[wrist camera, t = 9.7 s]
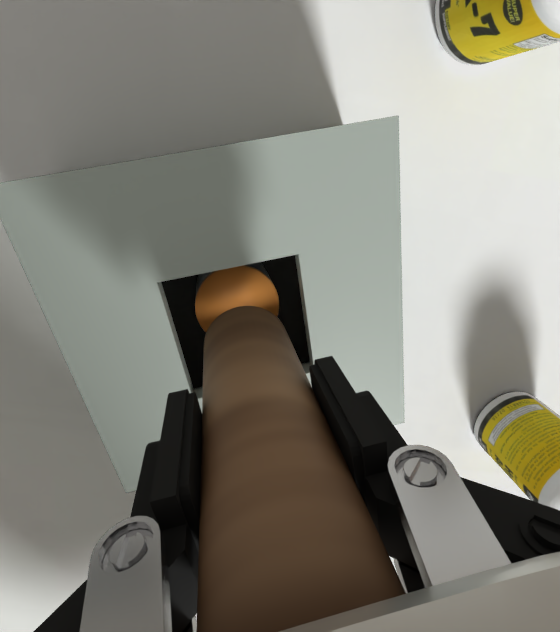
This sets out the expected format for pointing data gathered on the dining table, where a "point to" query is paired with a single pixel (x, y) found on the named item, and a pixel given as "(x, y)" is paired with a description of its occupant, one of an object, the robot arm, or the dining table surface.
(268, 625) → the dowel
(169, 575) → the robot arm
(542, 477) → the supplement bottle
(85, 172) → the grey square block
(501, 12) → the supplement bottle
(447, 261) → the dining table surface
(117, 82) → the dining table surface
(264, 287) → the orange dome button
